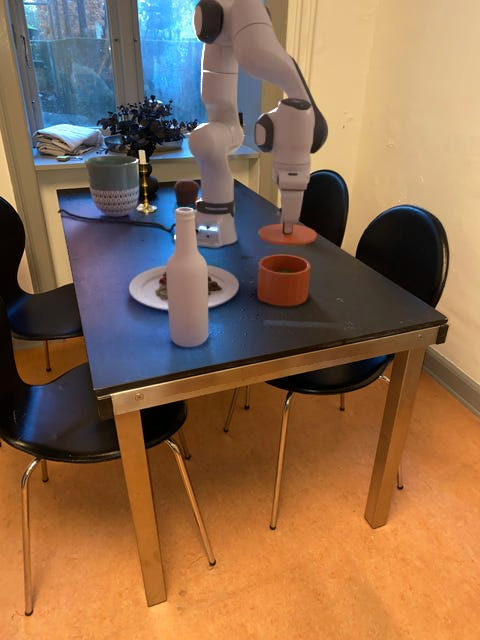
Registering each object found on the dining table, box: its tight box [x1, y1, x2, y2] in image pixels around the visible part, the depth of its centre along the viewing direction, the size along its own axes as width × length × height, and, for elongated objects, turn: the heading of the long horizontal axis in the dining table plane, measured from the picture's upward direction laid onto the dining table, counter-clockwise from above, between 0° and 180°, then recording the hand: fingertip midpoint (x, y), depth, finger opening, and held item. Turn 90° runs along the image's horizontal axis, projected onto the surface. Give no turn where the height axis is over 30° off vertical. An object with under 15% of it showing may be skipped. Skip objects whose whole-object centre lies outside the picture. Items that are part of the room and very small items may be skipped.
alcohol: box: [166, 206, 209, 348], centre depth 100 cm, size 9×9×30 cm
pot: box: [256, 254, 311, 307], centre depth 125 cm, size 14×14×10 cm
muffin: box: [172, 178, 201, 206], centre depth 205 cm, size 12×11×10 cm
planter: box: [84, 155, 140, 218], centre depth 184 cm, size 20×20×21 cm
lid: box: [257, 222, 318, 246], centre depth 118 cm, size 15×15×6 cm
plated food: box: [128, 264, 240, 311], centre depth 128 cm, size 30×30×3 cm
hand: (287, 229), depth 118 cm, fingers closed on lid, 2 cm apart
